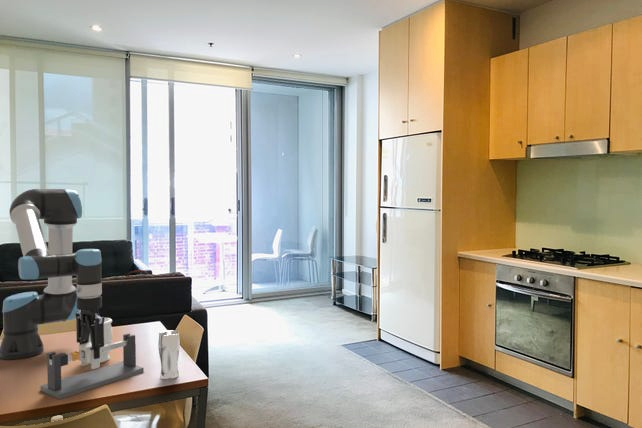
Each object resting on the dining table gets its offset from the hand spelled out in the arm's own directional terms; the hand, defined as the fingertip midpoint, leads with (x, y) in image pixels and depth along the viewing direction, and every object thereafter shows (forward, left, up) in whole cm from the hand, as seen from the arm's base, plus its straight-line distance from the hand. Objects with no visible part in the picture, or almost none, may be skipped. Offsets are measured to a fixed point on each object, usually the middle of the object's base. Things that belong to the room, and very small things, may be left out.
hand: (90, 366), depth 163 cm
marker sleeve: (0, 0, +2) cm, 2 cm away
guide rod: (0, +1, +3) cm, 3 cm away
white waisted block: (+17, +18, -5) cm, 26 cm away
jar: (-19, +13, -5) cm, 24 cm away
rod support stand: (0, +1, -5) cm, 5 cm away
